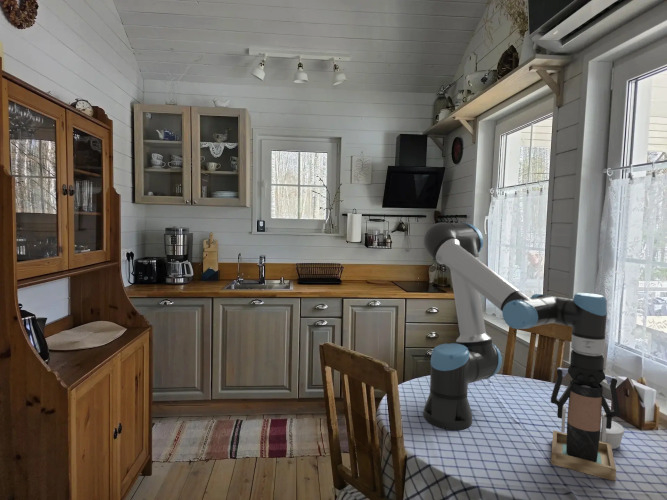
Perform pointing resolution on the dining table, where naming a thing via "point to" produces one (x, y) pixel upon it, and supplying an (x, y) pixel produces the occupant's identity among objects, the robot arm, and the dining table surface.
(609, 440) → the ramekin
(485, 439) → the dining table surface
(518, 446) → the dining table surface
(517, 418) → the dining table surface
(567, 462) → the tray
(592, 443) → the travel mug
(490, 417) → the dining table surface
